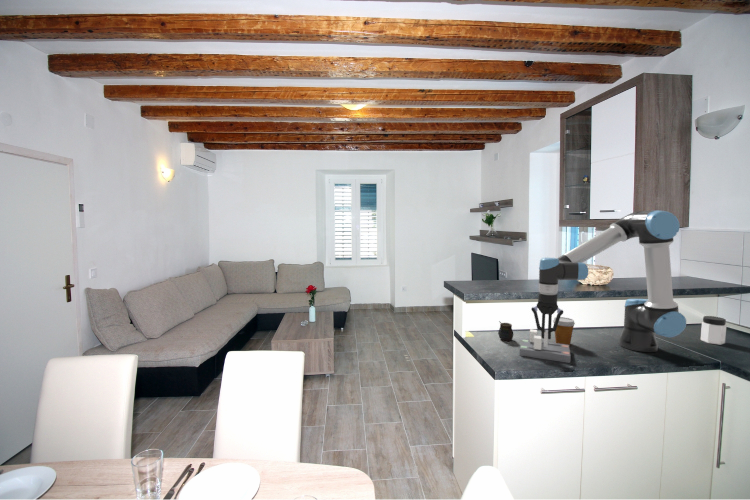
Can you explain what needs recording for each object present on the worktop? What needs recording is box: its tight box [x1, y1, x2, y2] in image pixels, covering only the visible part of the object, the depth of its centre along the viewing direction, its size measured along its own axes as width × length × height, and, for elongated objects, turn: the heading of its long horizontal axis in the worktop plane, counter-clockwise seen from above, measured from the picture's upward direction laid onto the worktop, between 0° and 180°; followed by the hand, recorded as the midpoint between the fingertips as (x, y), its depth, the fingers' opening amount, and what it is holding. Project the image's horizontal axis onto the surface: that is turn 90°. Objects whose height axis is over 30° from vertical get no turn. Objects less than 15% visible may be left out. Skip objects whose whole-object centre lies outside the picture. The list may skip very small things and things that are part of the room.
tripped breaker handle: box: [534, 335, 543, 350], centre depth 162 cm, size 3×4×5 cm
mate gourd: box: [497, 320, 514, 342], centre depth 183 cm, size 7×8×10 cm
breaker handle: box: [529, 328, 538, 342], centre depth 171 cm, size 3×4×5 cm
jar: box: [700, 315, 727, 346], centre depth 179 cm, size 9×8×12 cm
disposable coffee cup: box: [552, 316, 576, 346], centre depth 177 cm, size 10×10×12 cm
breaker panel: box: [519, 338, 571, 364], centre depth 165 cm, size 20×15×3 cm
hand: (545, 345), depth 160 cm, fingers closed
